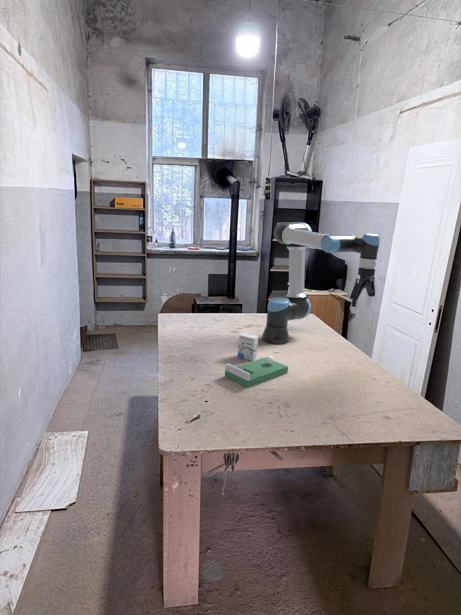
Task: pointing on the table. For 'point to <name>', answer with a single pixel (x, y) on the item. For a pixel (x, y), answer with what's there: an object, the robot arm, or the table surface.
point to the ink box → (247, 346)
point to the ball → (269, 360)
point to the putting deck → (254, 372)
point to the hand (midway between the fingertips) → (360, 311)
